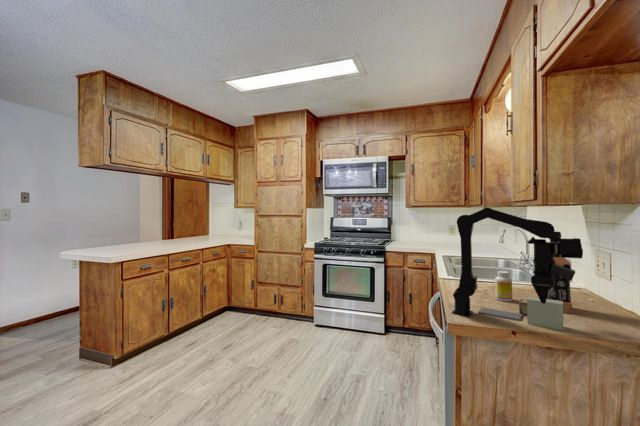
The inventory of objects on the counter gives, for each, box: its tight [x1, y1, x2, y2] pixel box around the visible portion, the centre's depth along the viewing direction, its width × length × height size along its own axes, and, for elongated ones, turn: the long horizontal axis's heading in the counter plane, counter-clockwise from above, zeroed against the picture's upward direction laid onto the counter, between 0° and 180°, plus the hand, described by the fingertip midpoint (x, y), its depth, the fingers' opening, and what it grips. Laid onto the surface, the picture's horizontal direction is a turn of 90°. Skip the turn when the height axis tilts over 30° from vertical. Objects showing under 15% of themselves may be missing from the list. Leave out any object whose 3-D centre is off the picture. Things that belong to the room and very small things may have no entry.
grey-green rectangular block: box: [526, 296, 564, 331], centre depth 106 cm, size 4×10×9 cm, turn 50°
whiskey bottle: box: [547, 231, 573, 314], centre depth 124 cm, size 10×10×32 cm
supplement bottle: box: [494, 270, 513, 302], centre depth 137 cm, size 7×7×13 cm
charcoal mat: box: [477, 307, 523, 322], centre depth 118 cm, size 7×14×1 cm, turn 50°
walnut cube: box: [518, 298, 527, 317], centre depth 117 cm, size 5×5×5 cm
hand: (544, 300), depth 106 cm, fingers open, 9 cm apart
